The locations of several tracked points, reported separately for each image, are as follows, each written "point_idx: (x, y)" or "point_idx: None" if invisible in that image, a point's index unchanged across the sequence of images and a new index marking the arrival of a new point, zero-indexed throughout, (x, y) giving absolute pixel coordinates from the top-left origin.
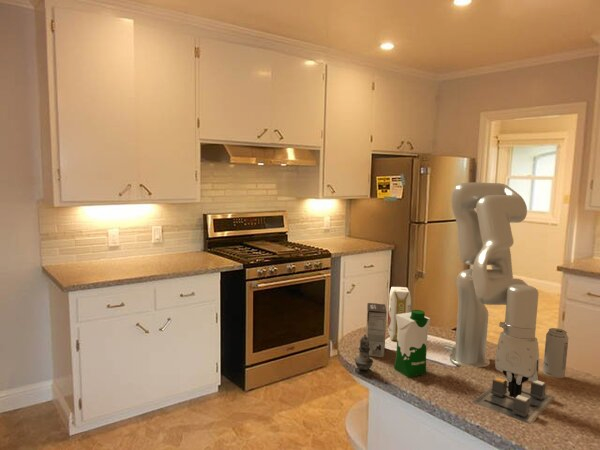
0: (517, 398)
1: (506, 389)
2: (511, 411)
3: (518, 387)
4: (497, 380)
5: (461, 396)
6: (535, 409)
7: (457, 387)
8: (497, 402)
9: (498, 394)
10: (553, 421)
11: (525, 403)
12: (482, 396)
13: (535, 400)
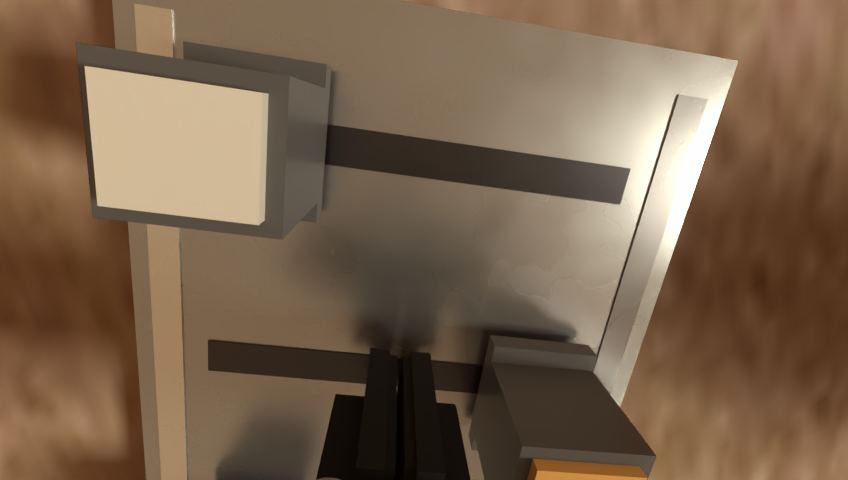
0: (237, 87)
1: (478, 449)
2: (354, 120)
3: (339, 456)
4: (606, 474)
5: (791, 200)
6: (192, 310)
7: (824, 333)
8: (507, 224)
9: (526, 344)
10: (55, 262)
11: (106, 47)
12: (647, 248)
13: (248, 462)
